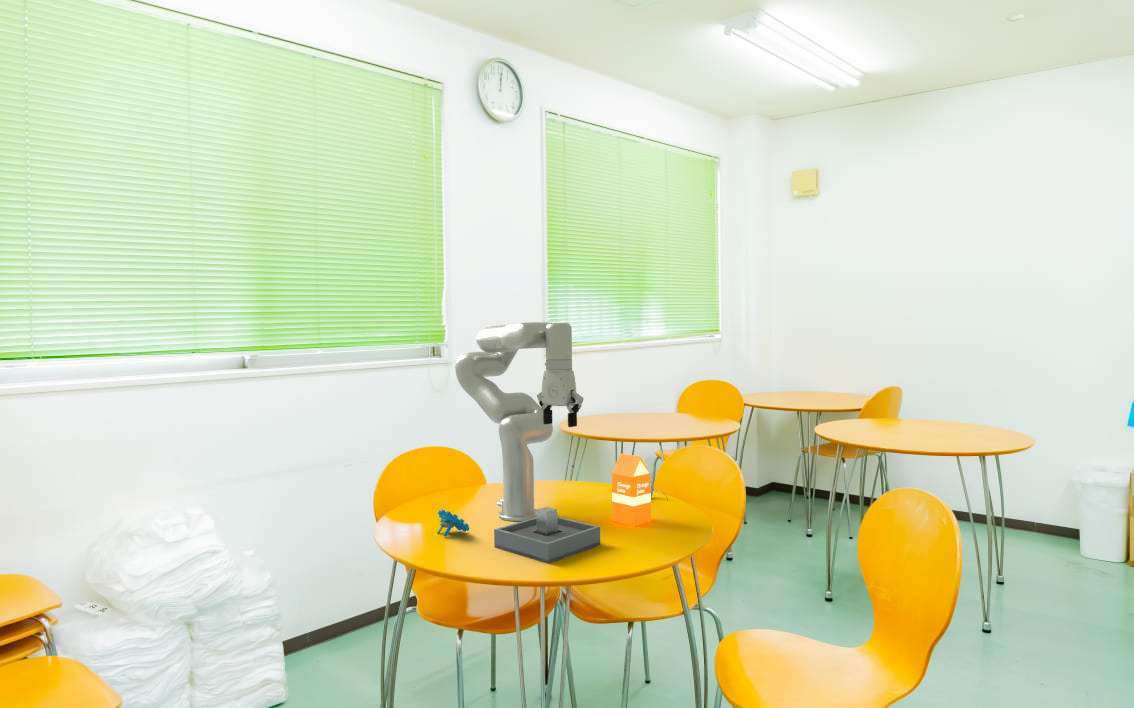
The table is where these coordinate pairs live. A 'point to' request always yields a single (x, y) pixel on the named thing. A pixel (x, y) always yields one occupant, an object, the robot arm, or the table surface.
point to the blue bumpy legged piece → (451, 522)
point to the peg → (547, 521)
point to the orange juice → (631, 491)
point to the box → (547, 539)
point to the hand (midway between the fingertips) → (560, 425)
